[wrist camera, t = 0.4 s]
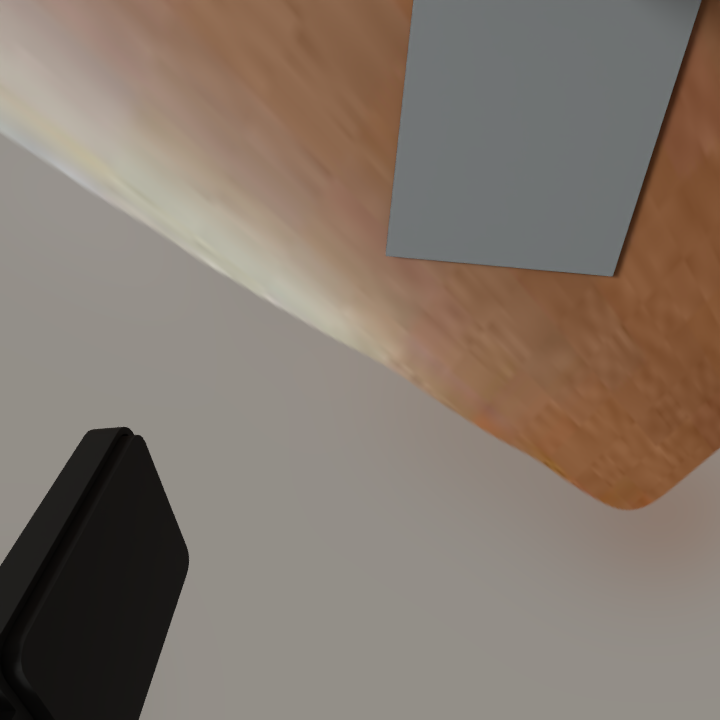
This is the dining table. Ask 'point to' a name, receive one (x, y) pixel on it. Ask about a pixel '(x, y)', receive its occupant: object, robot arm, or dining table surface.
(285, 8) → the dining table surface
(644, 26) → the mat
